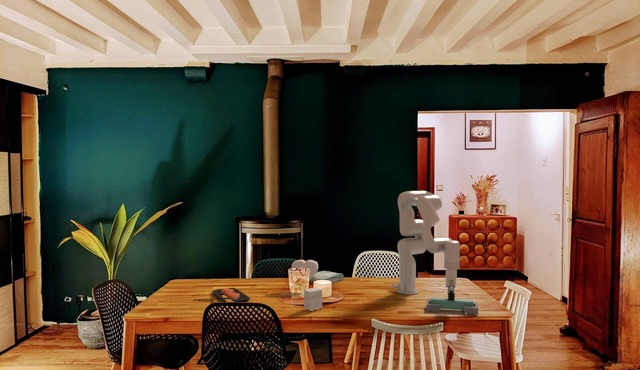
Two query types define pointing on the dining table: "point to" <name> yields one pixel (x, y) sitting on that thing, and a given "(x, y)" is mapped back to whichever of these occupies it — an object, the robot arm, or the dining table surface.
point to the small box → (313, 299)
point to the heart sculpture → (307, 266)
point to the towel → (327, 276)
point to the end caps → (466, 308)
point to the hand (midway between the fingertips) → (451, 297)
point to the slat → (451, 303)
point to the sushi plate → (229, 295)
